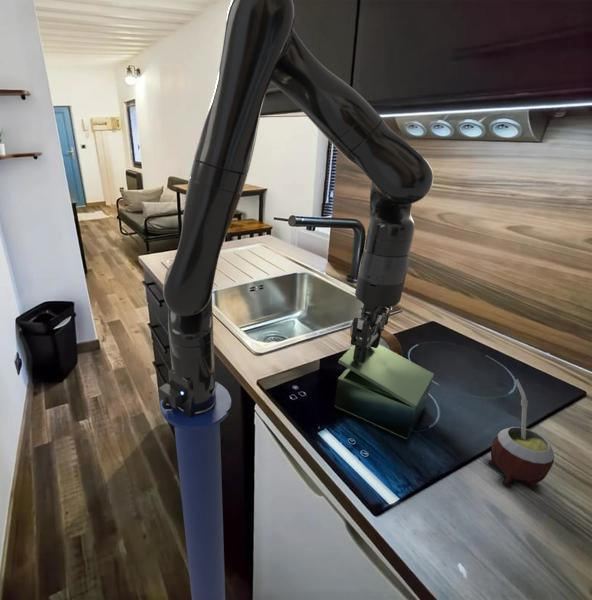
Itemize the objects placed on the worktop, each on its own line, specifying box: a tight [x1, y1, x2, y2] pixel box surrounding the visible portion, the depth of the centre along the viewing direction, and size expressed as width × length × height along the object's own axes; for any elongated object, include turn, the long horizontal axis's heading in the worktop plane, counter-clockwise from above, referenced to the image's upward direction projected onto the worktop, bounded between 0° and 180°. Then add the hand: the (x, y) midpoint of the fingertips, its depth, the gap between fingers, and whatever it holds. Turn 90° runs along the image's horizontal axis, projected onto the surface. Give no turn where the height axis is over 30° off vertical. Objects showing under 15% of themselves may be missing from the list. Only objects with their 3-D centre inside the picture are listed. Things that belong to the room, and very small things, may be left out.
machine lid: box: [337, 330, 435, 408], centre depth 69 cm, size 14×12×5 cm
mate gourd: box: [487, 378, 555, 490], centre depth 56 cm, size 8×8×15 cm
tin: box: [349, 322, 403, 357], centre depth 89 cm, size 15×3×8 cm, turn 17°
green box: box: [333, 368, 434, 443], centre depth 73 cm, size 14×12×8 cm
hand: (365, 353), depth 72 cm, fingers closed on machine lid, 6 cm apart
